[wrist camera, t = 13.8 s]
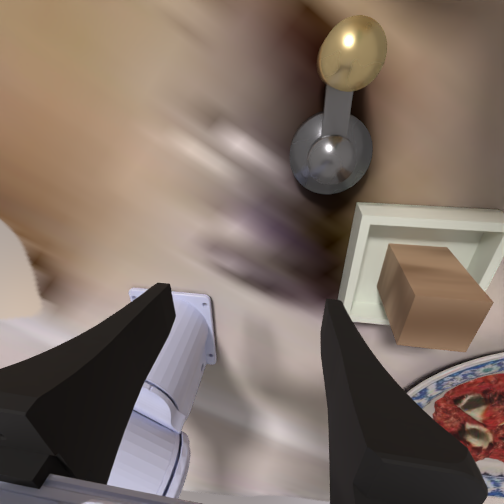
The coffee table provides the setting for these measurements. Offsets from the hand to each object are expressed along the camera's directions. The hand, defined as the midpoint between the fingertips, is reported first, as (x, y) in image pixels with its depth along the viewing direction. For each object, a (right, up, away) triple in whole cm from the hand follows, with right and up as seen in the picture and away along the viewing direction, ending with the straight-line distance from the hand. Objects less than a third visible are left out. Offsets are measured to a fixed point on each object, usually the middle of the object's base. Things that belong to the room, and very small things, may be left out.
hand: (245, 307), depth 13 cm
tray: (+12, +2, +9) cm, 15 cm away
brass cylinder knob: (+5, +10, +3) cm, 12 cm away
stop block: (+12, +1, +9) cm, 15 cm away
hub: (+5, +9, +6) cm, 12 cm away
